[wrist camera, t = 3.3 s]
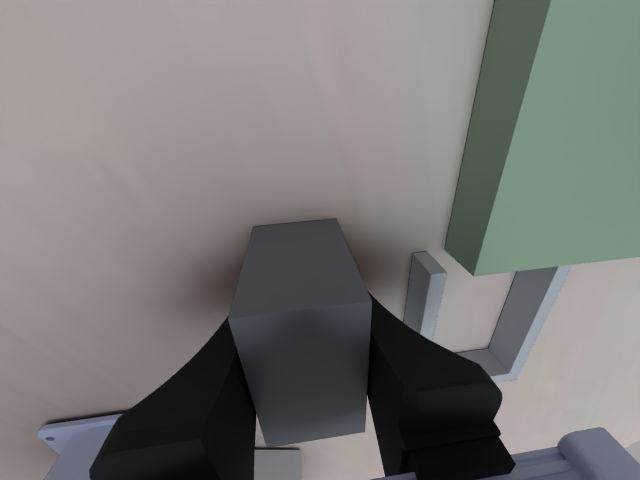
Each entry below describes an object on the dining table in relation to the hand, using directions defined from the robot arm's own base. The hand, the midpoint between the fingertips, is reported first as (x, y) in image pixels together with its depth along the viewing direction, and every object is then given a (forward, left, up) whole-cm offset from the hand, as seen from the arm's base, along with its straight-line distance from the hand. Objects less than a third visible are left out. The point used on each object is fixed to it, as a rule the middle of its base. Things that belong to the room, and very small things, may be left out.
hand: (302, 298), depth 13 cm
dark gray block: (0, 0, -1) cm, 1 cm away
